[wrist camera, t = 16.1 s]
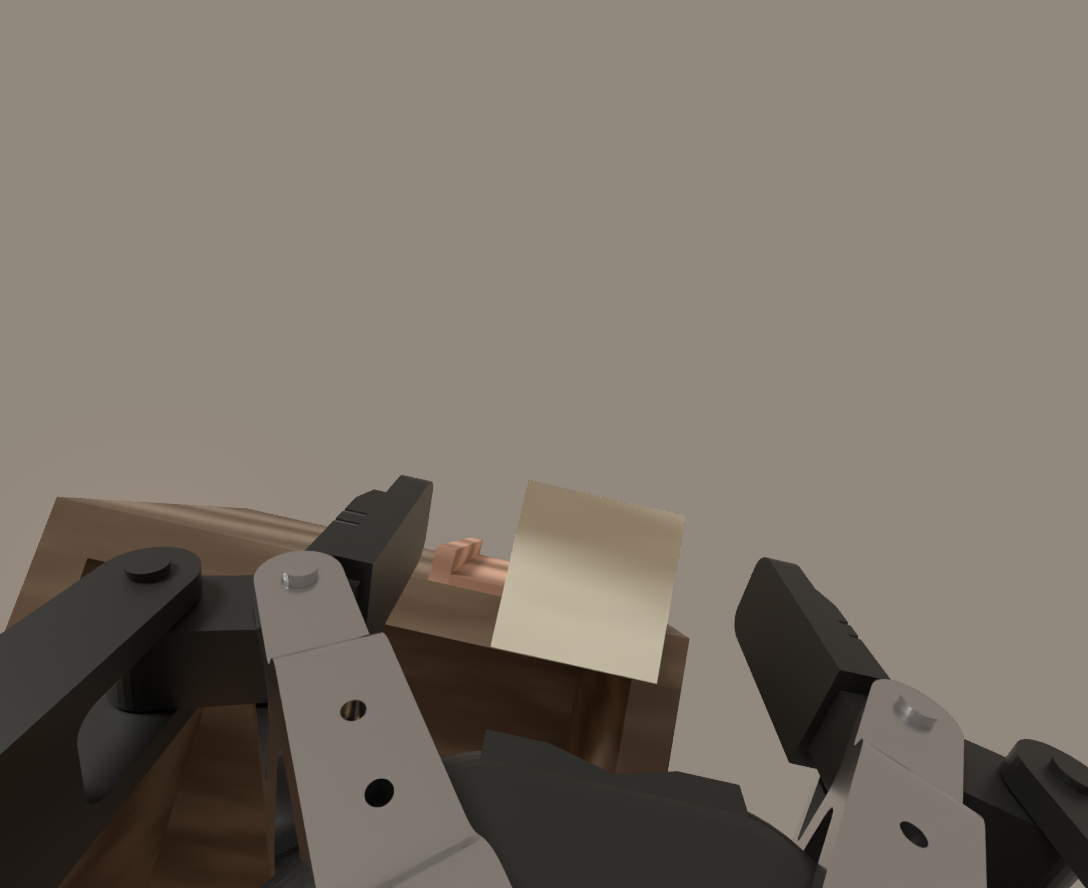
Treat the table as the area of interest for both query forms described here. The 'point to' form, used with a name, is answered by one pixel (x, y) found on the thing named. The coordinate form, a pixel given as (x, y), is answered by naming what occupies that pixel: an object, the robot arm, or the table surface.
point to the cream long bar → (590, 582)
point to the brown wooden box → (422, 652)
